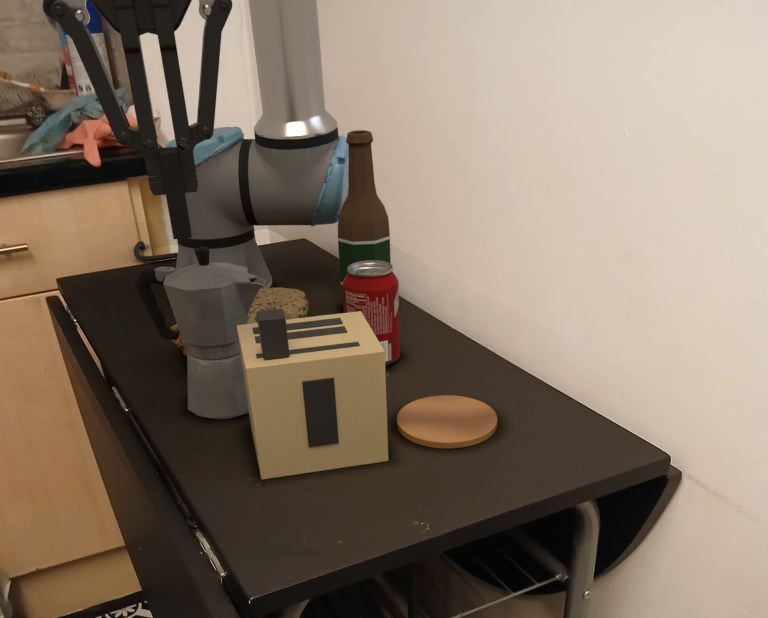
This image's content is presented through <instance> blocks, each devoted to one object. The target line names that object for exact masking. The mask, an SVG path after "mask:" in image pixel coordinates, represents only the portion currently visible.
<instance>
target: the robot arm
mask: <svg viewBox="0 0 768 618" xmlns="http://www.w3.org/2000/svg"><path fill="white" fill-rule="evenodd" d="M88 1H89V2H90V3H91V5H92V6H93V7H94V8H95V10H96V11H97V12H98V13H99V14H100V15H101V16H102V19H104V20H105V21H106V22H107V24H108V25H109V26H110V27H111V28H112V29H113V30H114V31H115V32H116V33H118V34H119V35H120V40H121V45H122V50H123V53H124V58H125V59H124V60H125V64H126V70H127V74H128V80H129V86H130V91H131V97H132V102H133V107H134V113H135V118H136V123H137V128H136V127H133V126H131V124H130V122H129V119H128V117H127V114H126V112H125V110H124V107H123V105H122V102H121V100H120V98H119V96H118V93H117V90H116V89H115V86H114V84H113V81H112V79H111V77H110V74H109V72H108V70H107V67H106V65H105V62H104V61H103V58H102V56H101V53H100V51H99V49H98V46H97V43H96V42H95V39H94V37H93V35H92V33H91V31H90V30H89V28H88V26H87V25H88V24H89V23H90V20H91V15H90V13H89V10H88V8H87V0H55V1H53V2H52V3H51V5H50V9H49V10H50V14H51V16H52V17H53V18H54V20H55V21H56V22H57V23H58V25H59V26H60V27H61V29H63V31H64V32H65V33H66V35H68V36H69V38H70V39H71V40H72V42H73V45H74V47H75V49H76V51H77V54H78V56H79V59H80V61H81V63H82V65H83V69H84V70H85V72H86V74H87V76H88V79H89V81H90V84H91V86H92V88H93V90H94V93H95V96H96V97H97V100H98V102H99V104H100V107H101V109H102V111H103V113H104V116H105V117H106V120H107V122H108V124H109V127H110V130H111V131H112V134H113V136H114V138H115V140H116V141H117V143H118V144H119V145H120V146H123V147H126V146H127V147H131V148H133V149H136V150H138V151H140V152H141V154H142V156H143V160H144V164H145V170H146V175H147V181H148V185H149V190H150V191H151V194H152V195H153V196H165V199H166V205H167V210H168V215H169V220H170V225H171V226H170V227H171V231H172V238H173V240H176V242H177V247H178V248H177V252H171V253H164V254H156V255H142V254H141V253H140V250H145V249H146V244H145V242H144V241H142V240H139V241H137V242H136V243H135V246H134V248H133V256H134V257H135V259H136V260H137V261H140V262H160V261H167V260H173V259H176V262H175V263H176V264H175V269H176V270H178V269H181V268H184V267H187V266H190V265H193V264H199V262H198V260H197V257H196V254H195V251H194V250H195V249H196V248H199V247H207V248H210V251H209V263H219V262H226V263H230V264H234V265H238V266H243V267H247V268H248V273H249V274H252V275H256V276H259V277H258V278H262V279H263V280H264V282H265V286H264V287H262V288H260V289H265V288H274V283H273V277H272V275H271V272H270V270H269V268H268V266H267V263H266V261H265V259H264V256H263V254H262V252H261V250H260V247H259V245H258V243H257V240H256V234H255V226H262V227H263V226H264V227H265V226H310V227H315V226H321V225H322V226H323V225H333V224H336V223H337V224H338V220H339V216H340V212H341V208H342V206H343V204H344V202H345V200H346V198H347V196H348V187H349V144H348V143H346V139H347V136H344V135H340V134H339V124H338V120H337V119H336V118H335V117H334V116H333V115H332V114H331V113H329V112H328V111H327V107H326V99H325V98H326V97H325V87H324V76H323V75H324V74H323V61H322V49H321V48H322V47H321V35H320V26H319V25H320V24H319V13H318V12H319V11H318V0H248V8H249V15H250V23H251V31H252V40H253V47H254V54H255V63H256V69H257V70H256V71H257V79H258V86H259V93H260V94H259V95H260V101H261V111H262V114H261V116H260V118H259V119H258V120H257V122H256V124H255V125H254V126H253V132H254V134H253V135H254V138H245V133H244V132H243V130H242V128H241V127H239V126H222V127H216V128H215V119H216V106H217V95H218V82H219V71H220V59H221V58H220V57H221V45H222V34H223V30H224V27H225V25H226V23H227V21H228V18H229V16H230V14H231V11H232V9H233V0H198V14H199V16H200V18H202V19H203V20H205V21H204V26H203V31H202V32H203V33H202V45H201V58H200V59H201V60H200V71H199V86H198V99H197V100H198V102H197V115H196V116H197V117H196V122H194V123H192V124H189V117H188V112H187V104H186V99H185V98H186V97H185V92H184V86H183V79H182V72H181V65H180V60H179V53H178V48H177V47H178V46H177V40H176V35H175V32H176V31H177V30H178V29H179V28H180V26H181V25H182V23H183V21H184V19H185V16H186V14H187V12H188V10H189V7H190V5H191V3H192V1H193V0H88ZM145 34H152V35H156V36H157V41H158V45H159V46H158V47H159V52H160V57H161V63H162V69H163V76H164V81H165V88H166V93H167V99H168V104H169V105H168V106H169V111H170V117H171V123H172V128H173V134H174V138H173V139H171V140H169V141H168V142H167V143H166V144H165V146H164V147H159V139H158V134H157V133H158V132H157V128H156V122H155V116H154V111H153V106H152V100H151V92H150V87H149V82H148V77H147V70H146V64H145V58H144V53H143V47H142V40H141V36H142V35H145Z"/></svg>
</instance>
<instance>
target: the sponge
mask: <svg viewBox="0 0 768 618" xmlns="http://www.w3.org/2000/svg"><path fill="white" fill-rule="evenodd" d="M309 303H310V300H309V301H308V298H307V296H306V293H305V292H304V291H303V290H300V289H296V288H287V287H280V286H279V287H273V288H265V289H259V291H258V293H257V295H256V296H255V299H254V301H253V303H252V306H251V308H250V310H249V312H248V324H253V323H258V320H257V311H266V310H275V309H283V312H284V315H285V318H286V320H288V319H296V318H305V317H308V313H309ZM170 330H171V331H174V332H178V333H179V334H178V338H177V339H176V340H172V339H171V341H172V342H173V344H174V345H175V347H176V348H177V349H178V350H181V352H182V354H183V356H184V357H186V358H187V356H188V347H187V342H186V341H184V340H183V339H182V336H181V333H180V331H179V328H178V325H177V323H176V324H174V325H172V326H171V327H170Z"/></svg>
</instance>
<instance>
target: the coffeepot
mask: <svg viewBox="0 0 768 618" xmlns="http://www.w3.org/2000/svg"><path fill="white" fill-rule="evenodd" d="M194 251H195V254H196V257H197V260H198V262H199V264H193V265H190V266H187V267H184V268H181V269H178V270H176V267H173V266H159V267H158V266H152V265H146V266H144V267H142V268H141V270H140V272H139V273H138V275H137V277H136V278H135V280H134V287H135V290H136V293H137V294H138V296H139V297H140V298H139V299H141V301H142V303H143V305H144V307H145V309H146V311H147V313H148V315H149V317H150V319H151V320H152V323H153V324H154V327H155V328H156V330H157V332H158V334H159V337H161V338H163V339H165V340H171V341H172V340H176V339H177V338H178V334H179V333H178V332H174V331H171V329H169V328H168V325H167V323H166V318H165V315H164V313H163V311H162V309H161V308H160V306H159V304H158V301H157V298H156V296H155V295H156V294H155V293H154V290H153V288H152V287H151V285H152V284H153V285H154V284H155V285H158V286H162V287H164V289H165V294H166V296H167V299H168V302H169V305H170V307H171V308H170V309H171V310H172V313H173V316H174V319H175V323H176V324H177V325H178V328H179V331H180V333H181V336H182V339H183V340H184V341H186V342H187V347H188V356H187V357H186V358H187V359H186V362H187V363H186V364H187V368H186V369H187V372H186V373H187V410H188V411H189V412H191V413H192V414H194V415H195V416H197V417H200V418H203V419H207V420H208V419H209V420H228V419H236V418H239V417H242V416H245V415H248V414H249V409H248V402H247V395H246V389H245V382H244V375H243V368H242V361H241V354H240V347H239V340H238V333H237V325H244V324H248V312H249V310H250V308H251V306H252V303H253V301H254V299H255V296H256V295H257V293H258V291H259V289H260V288H262V287H264V286H265V282H264V280H263V279H262V278H258V277H259V276H256V275H252V274H249V273H248V268H247V267H243V266H238V265H234V264H230V263H226V262H219V263H209V251H210V248H207V247H199V248H196V249H195V250H194Z"/></svg>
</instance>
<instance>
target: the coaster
mask: <svg viewBox="0 0 768 618" xmlns="http://www.w3.org/2000/svg"><path fill="white" fill-rule="evenodd" d="M396 428H397V431H398V432H399V434H401V435H402V437H404V438H405V439H406V440H408V441H410V442H411V443H414V444H417V445H419V446H423V447H427V448H432V449H445V450H446V449H449V450H450V449H460V448H461V449H463V448H467V447H471V446H475V445H479V444H480V443H483V442H486V441H487V440H488V439H489V438H491V437H492V436H493V435H494V434H495V432H496V430H497V428H498V415H497V412H496V411H495V410H494V409H493V407H491V406H490V405H488V404H487V403H485V402H484V401H481V400H478V399H476V398H472V397H468V396H462V395H453V394H451V395H450V394H442V395H441V394H440V395H431V396H427V397H426V396H425V397H422V398H418V399H415V400H413V401H411V402H409V403H407V404H406V405H404V406H403V407H402V408H400V410H399V411H398V413H397V414H396Z"/></svg>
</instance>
